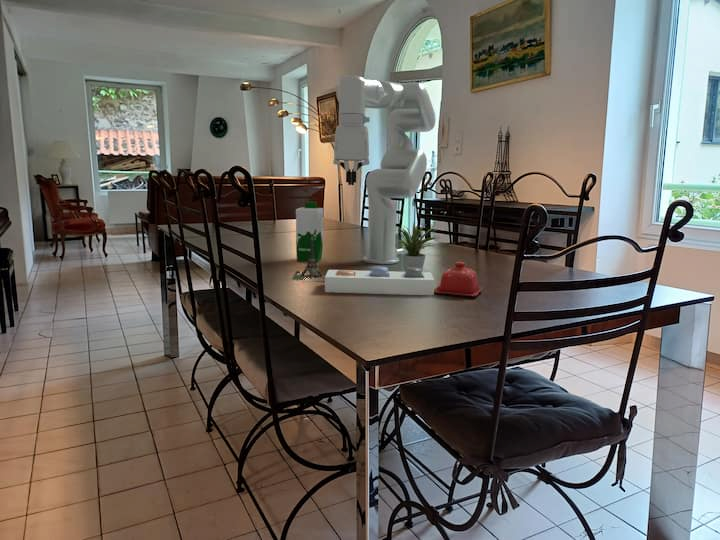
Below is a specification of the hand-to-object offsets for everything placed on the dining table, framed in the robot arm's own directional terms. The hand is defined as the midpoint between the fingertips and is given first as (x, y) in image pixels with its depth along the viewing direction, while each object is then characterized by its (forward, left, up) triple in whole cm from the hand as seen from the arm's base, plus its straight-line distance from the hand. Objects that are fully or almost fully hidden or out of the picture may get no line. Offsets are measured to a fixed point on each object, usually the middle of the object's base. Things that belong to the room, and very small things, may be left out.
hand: (351, 184), depth 155 cm
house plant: (-12, +15, -27) cm, 33 cm away
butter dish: (-5, +37, -27) cm, 46 cm away
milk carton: (-3, -24, -27) cm, 36 cm away
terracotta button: (+15, +16, -25) cm, 33 cm away
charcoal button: (+3, +28, -24) cm, 37 cm away
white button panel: (+9, +22, -27) cm, 36 cm away
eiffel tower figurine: (+13, -3, -28) cm, 30 cm away
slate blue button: (+9, +22, -24) cm, 34 cm away
